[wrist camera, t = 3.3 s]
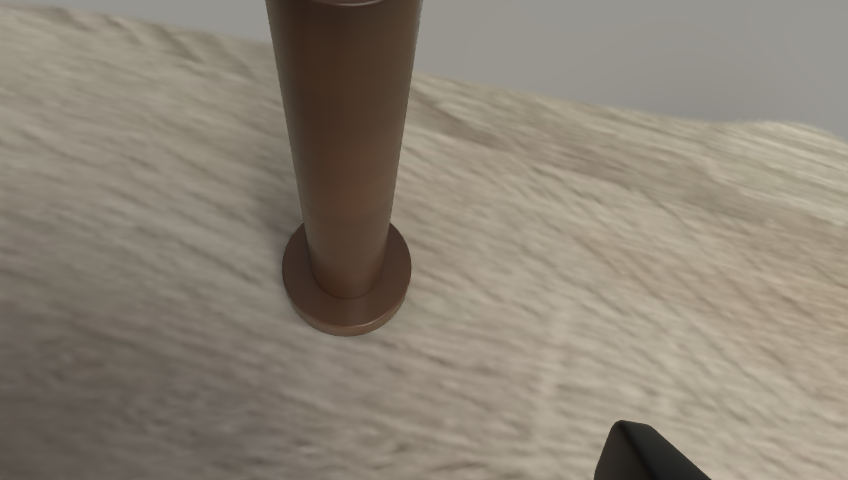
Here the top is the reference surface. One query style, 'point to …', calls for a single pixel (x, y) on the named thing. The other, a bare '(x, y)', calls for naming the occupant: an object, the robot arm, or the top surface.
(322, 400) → the top surface
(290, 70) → the stirring stick
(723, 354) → the top surface
